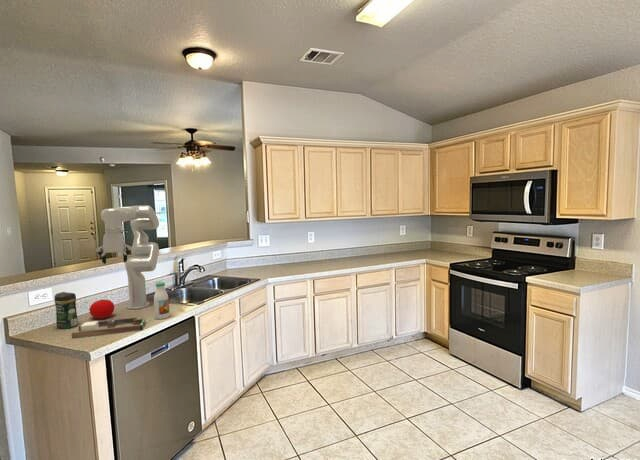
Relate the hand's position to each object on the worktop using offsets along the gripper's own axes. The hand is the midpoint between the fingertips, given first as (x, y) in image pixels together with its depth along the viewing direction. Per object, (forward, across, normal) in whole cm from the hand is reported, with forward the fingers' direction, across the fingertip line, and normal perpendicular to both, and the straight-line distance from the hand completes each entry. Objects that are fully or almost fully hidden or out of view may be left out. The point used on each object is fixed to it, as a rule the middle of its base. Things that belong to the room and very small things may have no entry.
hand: (115, 262), depth 190 cm
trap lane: (+33, +1, +10) cm, 35 cm away
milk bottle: (+33, -22, 0) cm, 40 cm away
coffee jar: (+33, +25, -4) cm, 42 cm away
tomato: (+33, +10, -14) cm, 37 cm away
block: (+34, +10, +12) cm, 37 cm away
